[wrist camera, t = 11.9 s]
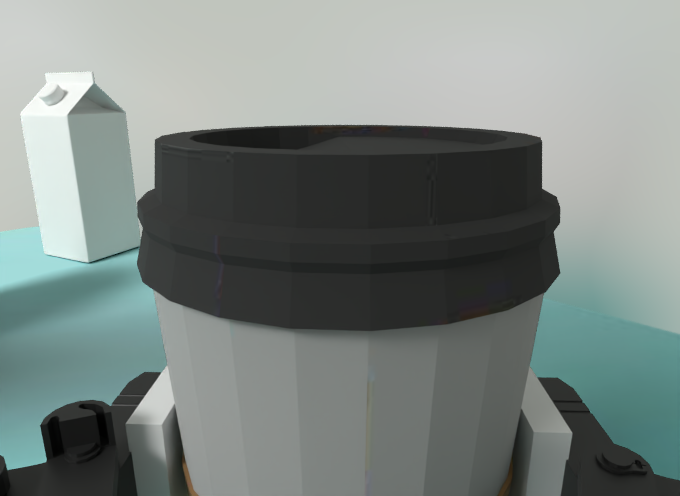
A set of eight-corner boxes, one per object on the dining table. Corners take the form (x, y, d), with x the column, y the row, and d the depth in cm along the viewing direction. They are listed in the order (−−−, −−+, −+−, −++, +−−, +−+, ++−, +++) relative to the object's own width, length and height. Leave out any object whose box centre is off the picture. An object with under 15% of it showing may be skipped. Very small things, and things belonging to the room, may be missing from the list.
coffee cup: (153, 914, 10) (14, 162, 6) (221, 555, 18) (184, 124, 14) (558, 878, 11) (705, 157, 6) (451, 543, 19) (484, 123, 14)
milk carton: (99, 239, 61) (75, 74, 56) (142, 247, 58) (121, 73, 53) (43, 255, 55) (11, 71, 50) (88, 264, 52) (59, 70, 47)
